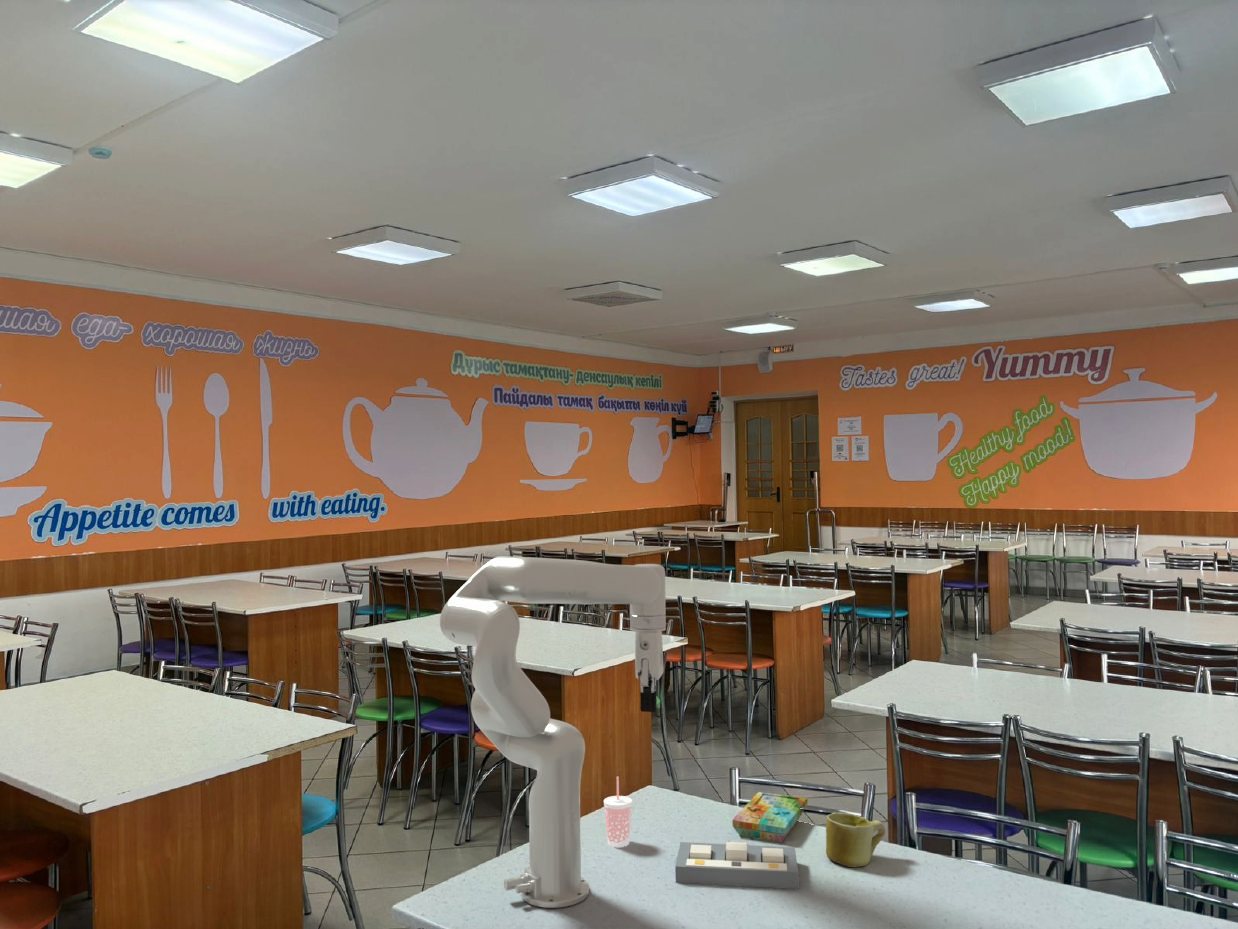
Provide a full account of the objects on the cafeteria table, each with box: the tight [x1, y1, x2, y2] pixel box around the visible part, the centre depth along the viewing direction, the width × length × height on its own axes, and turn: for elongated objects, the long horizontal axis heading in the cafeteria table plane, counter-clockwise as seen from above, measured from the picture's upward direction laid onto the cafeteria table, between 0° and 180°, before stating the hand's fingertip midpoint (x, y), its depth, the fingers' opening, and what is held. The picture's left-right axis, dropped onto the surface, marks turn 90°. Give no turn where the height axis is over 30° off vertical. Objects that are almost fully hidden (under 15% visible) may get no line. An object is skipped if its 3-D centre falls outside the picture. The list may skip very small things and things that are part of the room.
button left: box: [690, 845, 712, 860], centre depth 171 cm, size 4×4×3 cm
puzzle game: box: [732, 791, 808, 843], centre depth 195 cm, size 12×5×20 cm
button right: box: [762, 848, 784, 863], centre depth 169 cm, size 4×4×3 cm
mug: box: [825, 812, 886, 868], centre depth 175 cm, size 12×10×10 cm
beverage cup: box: [603, 776, 633, 849], centre depth 185 cm, size 6×6×14 cm
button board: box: [674, 841, 799, 890], centre depth 170 cm, size 12×23×3 cm, turn 81°
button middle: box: [725, 841, 748, 862], centre depth 170 cm, size 4×4×3 cm
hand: (648, 710), depth 182 cm, fingers closed
